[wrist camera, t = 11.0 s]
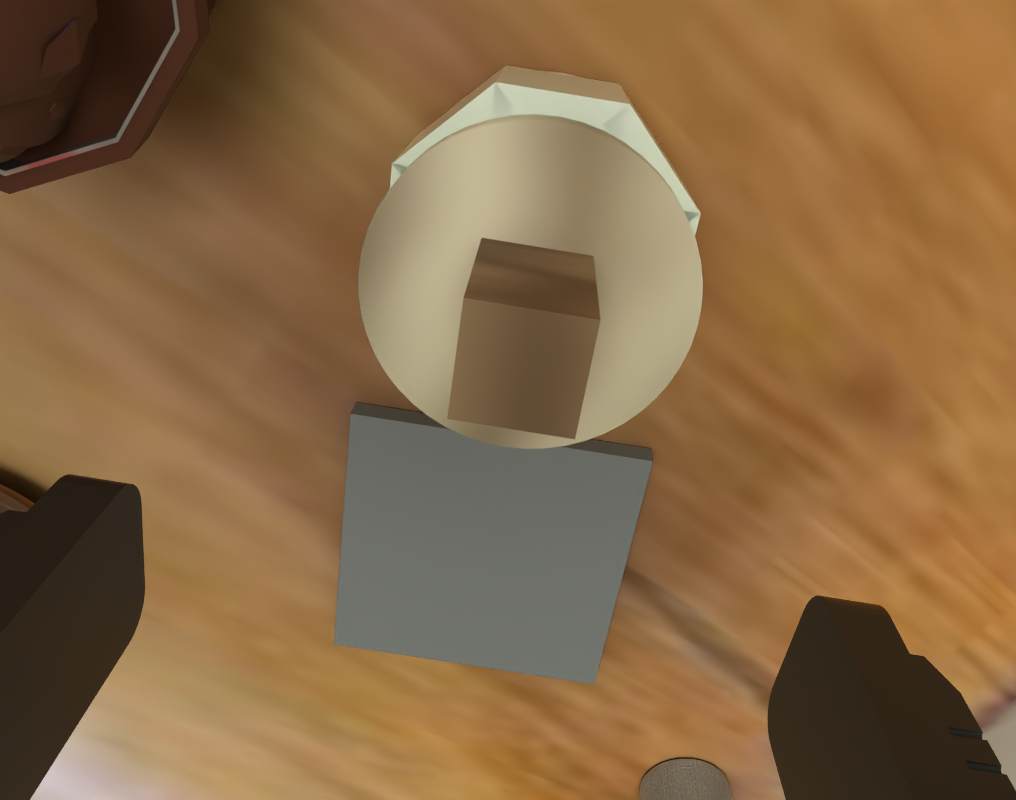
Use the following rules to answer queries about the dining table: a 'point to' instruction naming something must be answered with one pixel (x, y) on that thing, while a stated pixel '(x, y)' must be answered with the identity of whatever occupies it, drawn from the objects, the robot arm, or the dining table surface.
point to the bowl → (552, 97)
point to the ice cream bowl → (87, 80)
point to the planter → (685, 782)
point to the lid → (530, 282)
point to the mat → (483, 545)
